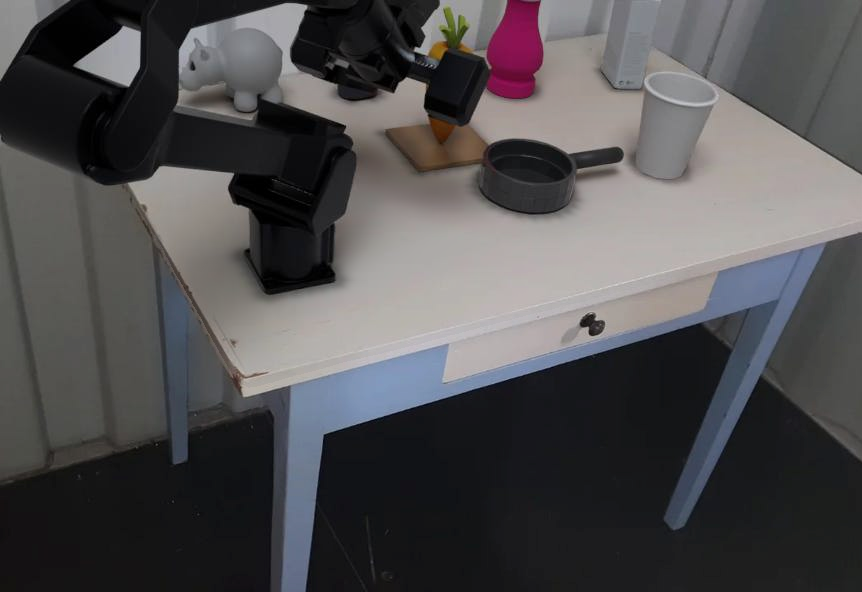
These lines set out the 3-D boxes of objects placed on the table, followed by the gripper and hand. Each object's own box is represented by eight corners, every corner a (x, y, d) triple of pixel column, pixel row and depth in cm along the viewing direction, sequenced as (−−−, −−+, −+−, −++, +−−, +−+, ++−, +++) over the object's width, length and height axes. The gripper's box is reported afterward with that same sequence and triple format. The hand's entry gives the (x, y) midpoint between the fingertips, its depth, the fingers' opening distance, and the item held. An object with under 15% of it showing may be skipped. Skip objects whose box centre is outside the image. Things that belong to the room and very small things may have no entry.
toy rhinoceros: (169, 94, 106) (163, 21, 100) (272, 86, 111) (271, 16, 105) (184, 122, 101) (178, 47, 96) (291, 113, 106) (291, 41, 101)
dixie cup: (640, 142, 112) (661, 64, 106) (704, 166, 109) (729, 87, 103) (612, 167, 106) (632, 85, 100) (679, 193, 103) (704, 111, 97)
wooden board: (419, 172, 99) (419, 167, 99) (384, 133, 105) (385, 128, 105) (499, 160, 104) (499, 155, 103) (461, 123, 110) (462, 119, 109)
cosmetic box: (642, 90, 125) (665, 1, 117) (611, 89, 123) (633, -1, 116) (627, 70, 129) (648, -17, 122) (597, 69, 128) (616, -19, 120)
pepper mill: (475, 76, 121) (496, -85, 108) (526, 76, 123) (553, -82, 111) (491, 101, 116) (516, -65, 103) (545, 100, 118) (575, -62, 105)
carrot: (466, 154, 103) (484, 21, 93) (422, 153, 101) (436, 19, 92) (458, 133, 106) (475, 3, 97) (415, 131, 105) (428, 0, 96)
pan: (508, 221, 94) (513, 191, 92) (462, 173, 100) (466, 144, 98) (588, 206, 98) (595, 177, 96) (539, 161, 105) (545, 133, 103)
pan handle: (567, 174, 100) (570, 159, 99) (558, 166, 101) (561, 151, 100) (625, 164, 103) (628, 150, 102) (615, 157, 104) (619, 142, 103)
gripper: (498, -30, 76) (528, 58, 91) (309, -86, 82) (367, 6, 96) (443, 89, 75) (483, 158, 90) (255, 25, 81) (323, 101, 96)
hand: (413, 102), depth 93 cm, fingers open, 9 cm apart
